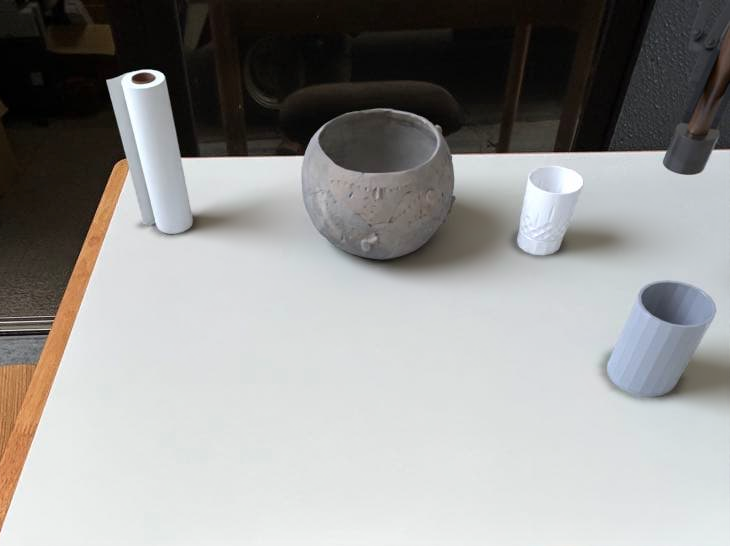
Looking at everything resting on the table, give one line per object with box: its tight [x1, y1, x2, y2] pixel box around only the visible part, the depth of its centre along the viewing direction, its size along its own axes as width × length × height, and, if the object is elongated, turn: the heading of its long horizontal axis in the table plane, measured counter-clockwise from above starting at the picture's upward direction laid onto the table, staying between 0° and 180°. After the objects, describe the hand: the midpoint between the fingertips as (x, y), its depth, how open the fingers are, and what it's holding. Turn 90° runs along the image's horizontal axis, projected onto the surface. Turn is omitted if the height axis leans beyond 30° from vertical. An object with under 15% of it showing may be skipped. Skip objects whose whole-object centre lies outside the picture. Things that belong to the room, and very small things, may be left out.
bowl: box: [300, 107, 457, 261], centre depth 99 cm, size 23×23×15 cm
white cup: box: [516, 165, 585, 256], centre depth 99 cm, size 8×8×10 cm
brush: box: [662, 26, 730, 176], centre depth 75 cm, size 5×5×17 cm
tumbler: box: [606, 279, 717, 398], centre depth 82 cm, size 9×9×11 cm
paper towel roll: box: [106, 69, 194, 235], centre depth 99 cm, size 7×6×21 cm
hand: (701, 120), depth 75 cm, fingers closed on brush, 2 cm apart
